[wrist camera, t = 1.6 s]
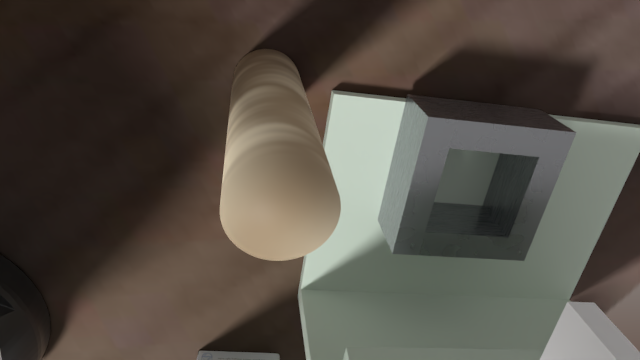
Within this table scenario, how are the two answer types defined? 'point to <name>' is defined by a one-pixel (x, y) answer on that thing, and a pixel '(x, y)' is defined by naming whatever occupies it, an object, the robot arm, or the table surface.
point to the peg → (275, 164)
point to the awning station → (449, 272)
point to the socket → (504, 190)
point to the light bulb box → (236, 355)
